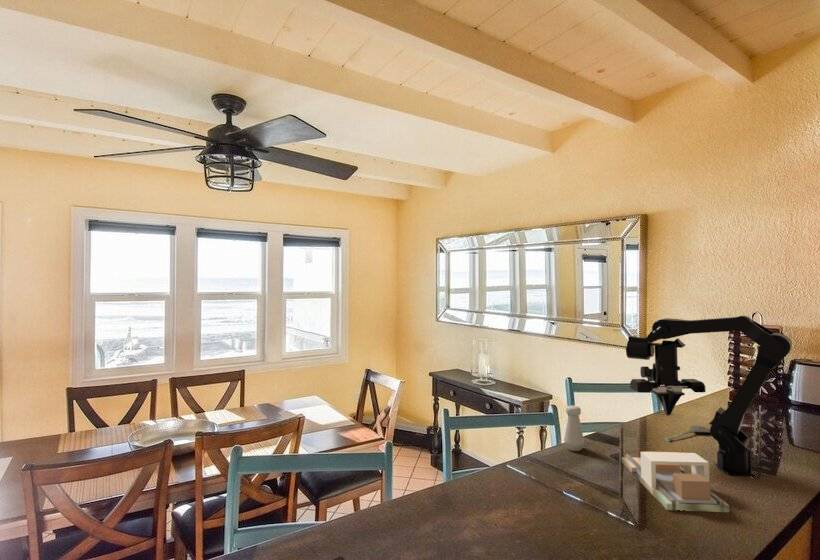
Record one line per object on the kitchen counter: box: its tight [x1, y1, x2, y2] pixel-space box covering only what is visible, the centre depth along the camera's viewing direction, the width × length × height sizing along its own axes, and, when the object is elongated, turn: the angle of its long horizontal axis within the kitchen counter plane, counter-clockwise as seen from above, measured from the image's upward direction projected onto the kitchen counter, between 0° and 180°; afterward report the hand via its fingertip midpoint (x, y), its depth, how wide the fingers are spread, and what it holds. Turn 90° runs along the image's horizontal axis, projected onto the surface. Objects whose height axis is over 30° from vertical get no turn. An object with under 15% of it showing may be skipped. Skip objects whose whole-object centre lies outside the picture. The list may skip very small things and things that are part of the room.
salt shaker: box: [563, 404, 585, 452], centre depth 135 cm, size 6×6×13 cm
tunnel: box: [640, 451, 710, 488], centre depth 107 cm, size 13×6×6 cm, turn 84°
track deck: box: [621, 454, 730, 513], centre depth 110 cm, size 13×26×2 cm, turn 174°
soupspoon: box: [664, 424, 710, 443], centre depth 145 cm, size 22×3×7 cm
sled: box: [643, 451, 717, 504], centre depth 106 cm, size 8×18×5 cm, turn 174°
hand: (667, 415), depth 128 cm, fingers closed
